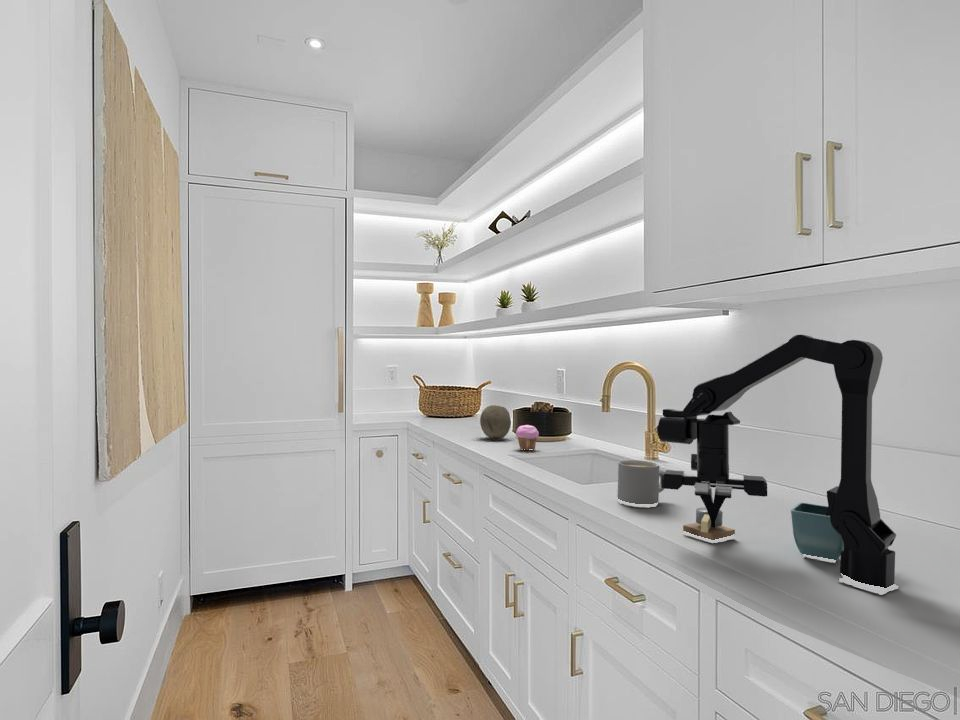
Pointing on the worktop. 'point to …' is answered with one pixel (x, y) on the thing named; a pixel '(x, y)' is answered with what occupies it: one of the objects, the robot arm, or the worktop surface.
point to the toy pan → (707, 519)
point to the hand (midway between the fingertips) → (713, 527)
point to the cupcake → (527, 436)
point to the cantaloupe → (495, 422)
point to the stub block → (709, 531)
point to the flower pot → (815, 531)
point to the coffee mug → (639, 481)
